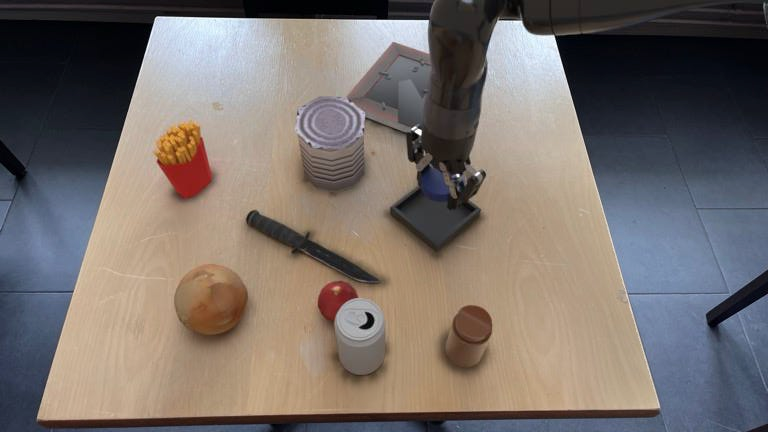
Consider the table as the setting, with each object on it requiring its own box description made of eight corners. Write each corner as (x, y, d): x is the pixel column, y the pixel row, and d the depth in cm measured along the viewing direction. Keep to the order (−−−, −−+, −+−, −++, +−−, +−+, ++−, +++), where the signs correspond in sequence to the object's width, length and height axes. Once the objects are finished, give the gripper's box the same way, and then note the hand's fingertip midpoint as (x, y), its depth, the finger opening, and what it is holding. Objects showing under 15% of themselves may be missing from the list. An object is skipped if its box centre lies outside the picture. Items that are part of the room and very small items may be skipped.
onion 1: (171, 330, 75) (147, 298, 67) (211, 275, 80) (193, 239, 72) (227, 357, 73) (209, 327, 65) (265, 299, 78) (253, 264, 70)
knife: (242, 225, 85) (245, 210, 84) (261, 217, 89) (264, 204, 88) (365, 299, 77) (371, 284, 76) (380, 287, 81) (385, 273, 80)
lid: (413, 187, 82) (414, 179, 81) (438, 167, 85) (439, 160, 83) (440, 208, 80) (441, 200, 78) (465, 188, 82) (467, 180, 81)
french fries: (185, 204, 88) (162, 156, 79) (169, 193, 90) (144, 144, 80) (221, 173, 93) (203, 124, 83) (205, 163, 94) (186, 114, 84)
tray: (479, 216, 88) (481, 209, 86) (436, 253, 84) (437, 246, 82) (432, 180, 92) (434, 173, 91) (390, 214, 88) (390, 206, 86)
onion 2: (330, 290, 79) (326, 263, 73) (365, 302, 78) (364, 276, 72) (313, 322, 76) (307, 297, 70) (349, 336, 75) (347, 312, 68)
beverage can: (375, 383, 71) (376, 349, 61) (332, 368, 72) (325, 333, 62) (390, 341, 75) (392, 303, 65) (348, 327, 76) (344, 288, 66)
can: (365, 144, 97) (364, 94, 88) (367, 191, 91) (366, 143, 81) (303, 146, 97) (296, 96, 87) (301, 194, 90) (293, 145, 80)
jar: (489, 350, 74) (503, 321, 66) (465, 375, 72) (476, 348, 64) (461, 325, 76) (471, 295, 68) (437, 349, 74) (445, 320, 66)
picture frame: (418, 139, 98) (462, 74, 110) (418, 129, 96) (463, 64, 108) (342, 110, 103) (392, 50, 114) (342, 100, 101) (393, 40, 112)
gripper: (393, 104, 71) (390, 182, 85) (473, 161, 65) (456, 235, 79) (430, 79, 75) (421, 158, 88) (510, 132, 69) (487, 208, 82)
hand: (438, 194), depth 84 cm, fingers closed on lid, 5 cm apart
